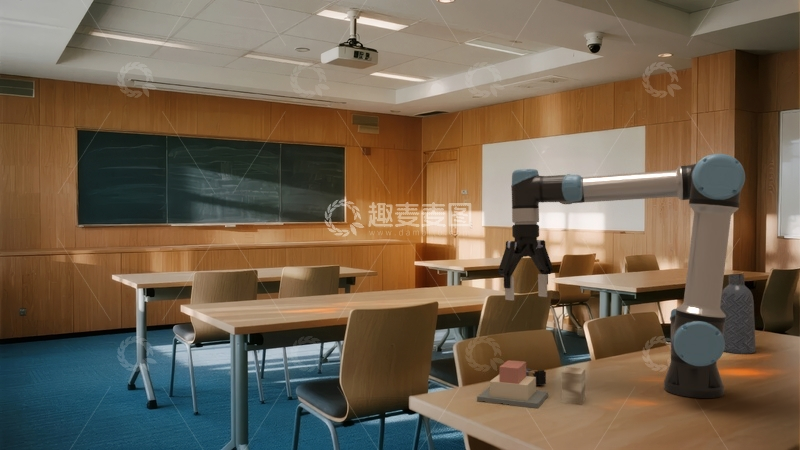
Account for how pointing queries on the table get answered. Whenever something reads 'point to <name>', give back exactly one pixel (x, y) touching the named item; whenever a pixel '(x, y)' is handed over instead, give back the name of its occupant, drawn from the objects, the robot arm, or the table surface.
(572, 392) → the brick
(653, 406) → the table surface
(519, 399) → the tiered block stack
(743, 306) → the vase
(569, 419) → the table surface
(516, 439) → the table surface
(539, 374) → the brush
